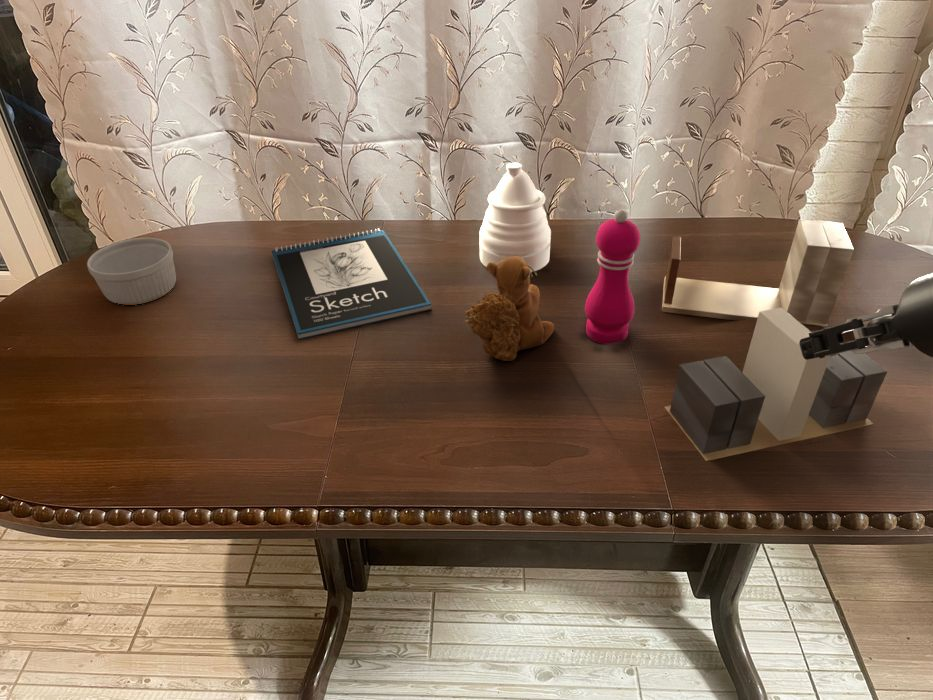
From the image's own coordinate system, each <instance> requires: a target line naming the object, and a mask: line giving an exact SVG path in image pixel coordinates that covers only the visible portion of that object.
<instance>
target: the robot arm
mask: <svg viewBox="0 0 933 700" xmlns="http://www.w3.org/2000/svg"><path fill="white" fill-rule="evenodd" d="M868 321H869V322H868ZM865 322H868V323H867V325H866V326H865V324H864V323H865ZM811 332H812V333H808V334H809V337H806V338H803V339H801V340H800V342H799V345H800V348H801V352H802V356H803V357H804V359H806V360H808V359H813V358H818V357H819V358H825V356H829V355H831V356H836V355H837V354H838V353H843V352H848V351H852V352H853V353H855V354H863V353H864V354H867V353H872V352H877V351H883V350H887V349H888V350H891V351H894V350H895V351H896V350H900V349H904V348H905V349H906V348H908V347H909V348H910V347H912V346H913V347H914V348H915V349H917V350H918V351H919V352H921V353H922V354H924V355H926V356H928V357H930V358H933V272H931V273H929V274H925V275H923V276H920V277H917V278H916V279H915V280H913V281H911V282H910V283H909V284H908V285H907V287H906V288H905V289H904V291H903V292H902V295H901V297H900V300H899V303H897V304H893V305H889V306H884V307H881V308H879V309H878V310H877V311H876V312H872V313H868V314H864V315H859V316H856V317H852V318H849V319H846V320H845V322H843V323H839V324H836V325H833V326H829V327H827V328H822V329H820V330H818V329H815V330H814V329H813V330H812V331H811ZM869 340H870V341H869ZM870 342H871V343H873V345H870Z"/></svg>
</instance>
